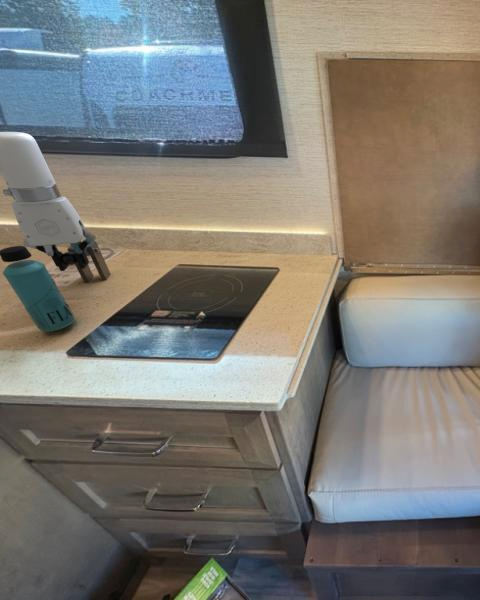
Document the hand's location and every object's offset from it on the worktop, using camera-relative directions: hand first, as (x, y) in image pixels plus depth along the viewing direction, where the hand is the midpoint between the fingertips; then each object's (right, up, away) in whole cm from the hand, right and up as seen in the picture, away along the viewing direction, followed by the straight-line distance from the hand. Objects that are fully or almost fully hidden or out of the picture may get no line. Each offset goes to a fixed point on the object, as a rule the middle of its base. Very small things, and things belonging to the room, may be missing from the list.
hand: (74, 266), depth 84 cm
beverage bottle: (+4, -15, -7) cm, 17 cm away
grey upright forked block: (-4, -4, +11) cm, 13 cm away
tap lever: (-2, +2, +3) cm, 4 cm away
